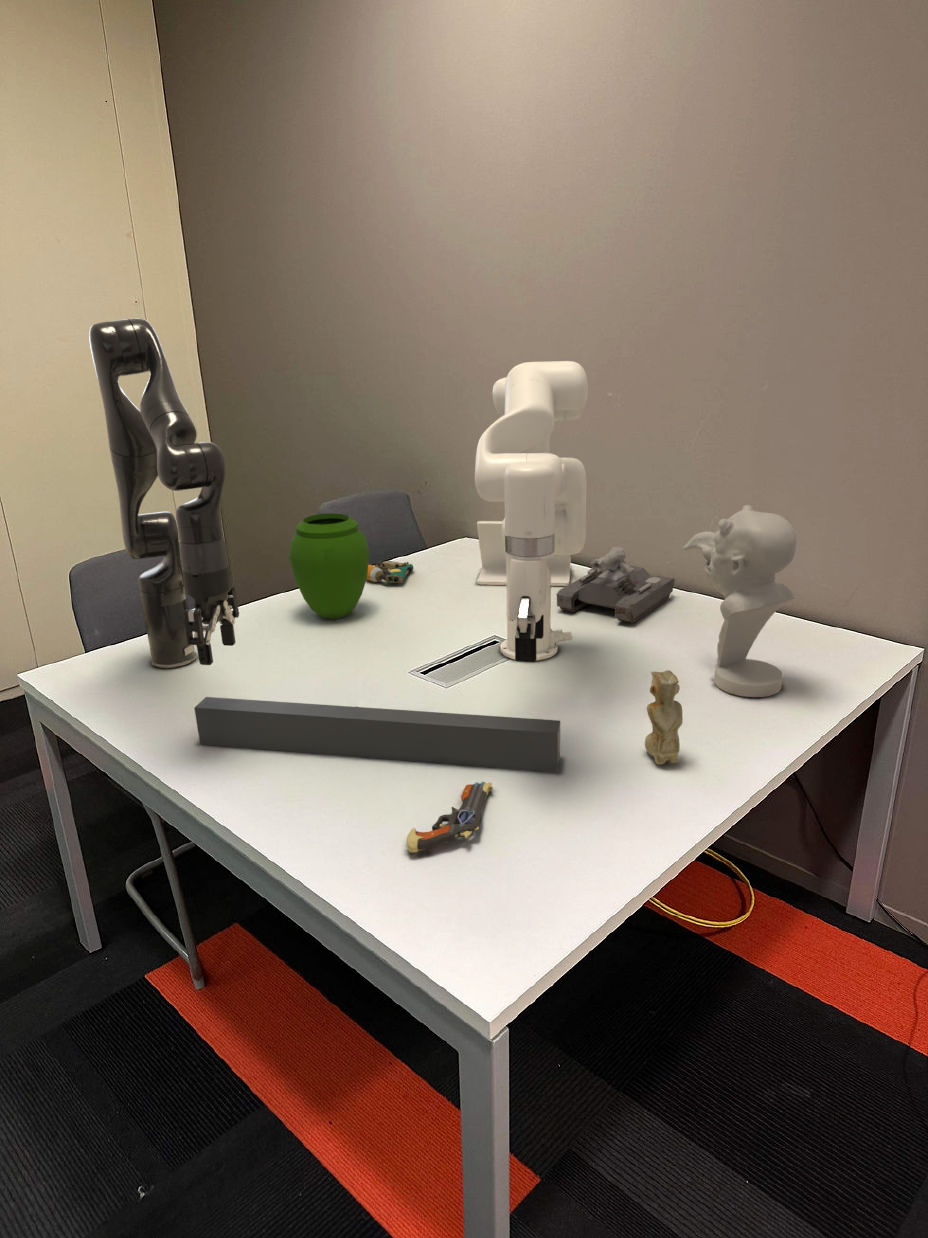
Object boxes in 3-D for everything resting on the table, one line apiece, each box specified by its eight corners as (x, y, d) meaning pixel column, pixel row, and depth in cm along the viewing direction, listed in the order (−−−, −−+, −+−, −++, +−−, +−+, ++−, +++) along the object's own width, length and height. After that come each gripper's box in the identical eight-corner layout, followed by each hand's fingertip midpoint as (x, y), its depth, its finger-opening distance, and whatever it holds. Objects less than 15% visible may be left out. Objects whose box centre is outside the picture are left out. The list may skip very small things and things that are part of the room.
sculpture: (673, 746, 147) (678, 666, 142) (685, 767, 140) (691, 684, 135) (639, 747, 147) (643, 667, 141) (650, 769, 140) (654, 686, 135)
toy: (603, 584, 229) (605, 530, 224) (673, 597, 218) (677, 540, 213) (555, 612, 210) (556, 553, 205) (630, 627, 199) (633, 566, 194)
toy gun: (402, 841, 119) (471, 840, 117) (431, 778, 137) (492, 776, 135) (405, 858, 120) (474, 857, 118) (434, 793, 138) (494, 791, 136)
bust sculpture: (716, 647, 187) (729, 489, 174) (804, 687, 167) (826, 512, 154) (658, 663, 180) (668, 499, 167) (743, 707, 160) (761, 525, 147)
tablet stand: (569, 585, 229) (570, 524, 223) (476, 584, 232) (475, 523, 226) (570, 566, 246) (571, 508, 240) (484, 564, 249) (483, 507, 243)
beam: (559, 759, 144) (560, 720, 142) (557, 772, 140) (557, 733, 138) (211, 732, 157) (206, 696, 154) (199, 744, 153) (194, 707, 150)
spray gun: (382, 568, 251) (427, 575, 245) (352, 581, 237) (399, 589, 231) (382, 554, 250) (427, 560, 244) (351, 566, 235) (399, 574, 230)
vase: (389, 608, 216) (383, 514, 208) (339, 633, 201) (330, 533, 192) (330, 596, 226) (322, 506, 218) (278, 619, 211) (267, 523, 202)
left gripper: (205, 552, 149) (217, 638, 155) (162, 577, 136) (177, 669, 142) (244, 553, 148) (255, 640, 154) (206, 578, 135) (219, 672, 141)
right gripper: (513, 530, 138) (514, 628, 144) (496, 559, 122) (497, 669, 128) (559, 531, 137) (558, 630, 143) (548, 561, 121) (547, 672, 127)
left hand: (218, 654), depth 148 cm, fingers open, 8 cm apart
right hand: (529, 648), depth 136 cm, fingers open, 9 cm apart
